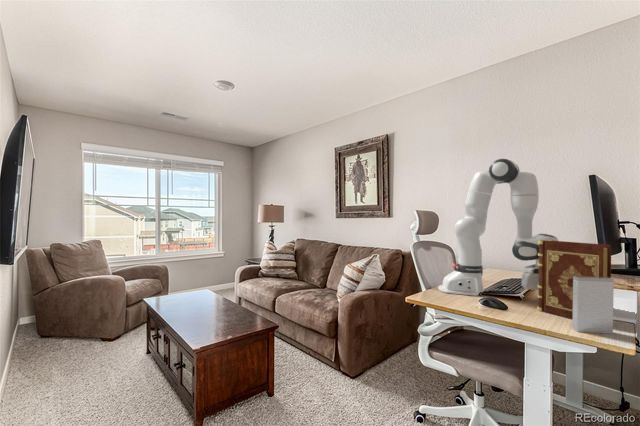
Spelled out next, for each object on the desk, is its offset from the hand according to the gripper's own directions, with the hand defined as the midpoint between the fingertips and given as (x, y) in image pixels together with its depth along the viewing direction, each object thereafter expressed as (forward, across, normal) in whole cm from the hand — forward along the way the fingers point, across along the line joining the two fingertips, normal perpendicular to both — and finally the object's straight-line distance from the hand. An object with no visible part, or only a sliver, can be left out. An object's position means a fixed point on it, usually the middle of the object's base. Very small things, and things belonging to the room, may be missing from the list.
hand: (546, 299), depth 138 cm
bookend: (+2, +3, +32) cm, 33 cm away
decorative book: (+2, 0, +16) cm, 16 cm away
